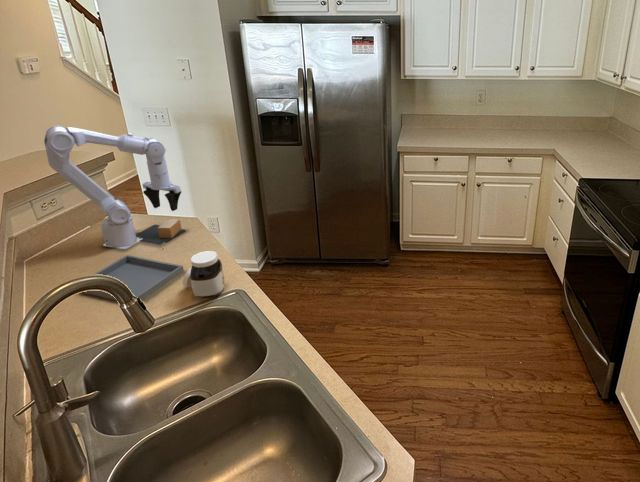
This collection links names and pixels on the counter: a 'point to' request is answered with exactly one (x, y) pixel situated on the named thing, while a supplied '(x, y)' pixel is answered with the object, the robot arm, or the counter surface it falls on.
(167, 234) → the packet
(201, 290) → the spread jar
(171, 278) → the tray
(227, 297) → the counter surface
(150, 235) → the mat
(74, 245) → the counter surface
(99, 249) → the counter surface
